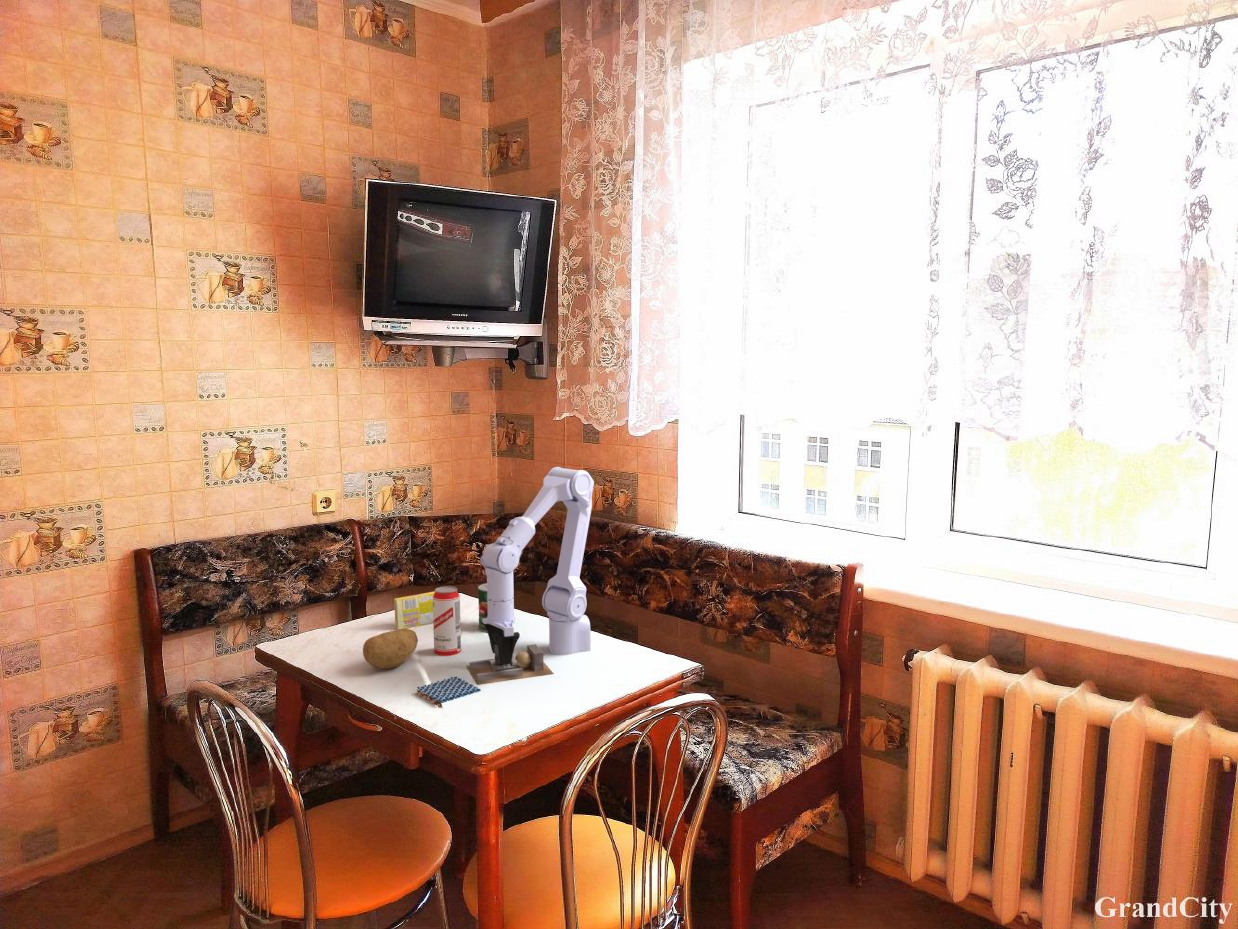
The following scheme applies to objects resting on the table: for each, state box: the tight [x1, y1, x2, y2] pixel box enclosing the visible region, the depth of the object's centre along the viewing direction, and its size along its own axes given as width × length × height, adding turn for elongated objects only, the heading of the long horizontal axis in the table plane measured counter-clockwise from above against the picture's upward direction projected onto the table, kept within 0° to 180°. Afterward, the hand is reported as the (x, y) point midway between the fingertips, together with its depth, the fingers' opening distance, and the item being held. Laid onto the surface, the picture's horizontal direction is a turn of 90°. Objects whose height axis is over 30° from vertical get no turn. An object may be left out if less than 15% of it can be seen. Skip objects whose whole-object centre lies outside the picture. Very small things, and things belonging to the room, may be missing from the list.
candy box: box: [393, 590, 435, 630], centre depth 224 cm, size 16×2×8 cm, turn 126°
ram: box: [489, 644, 517, 672], centre depth 188 cm, size 5×6×6 cm
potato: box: [362, 628, 419, 669], centre depth 194 cm, size 10×14×8 cm
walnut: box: [514, 651, 531, 668], centre depth 190 cm, size 4×4×4 cm
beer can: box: [432, 585, 462, 657], centre depth 200 cm, size 6×6×16 cm
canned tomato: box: [477, 582, 488, 633], centre depth 221 cm, size 8×8×11 cm
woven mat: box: [415, 676, 481, 708], centre depth 178 cm, size 10×11×2 cm
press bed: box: [465, 643, 555, 686], centre depth 189 cm, size 17×12×5 cm
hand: (501, 658), depth 188 cm, fingers open, 7 cm apart
